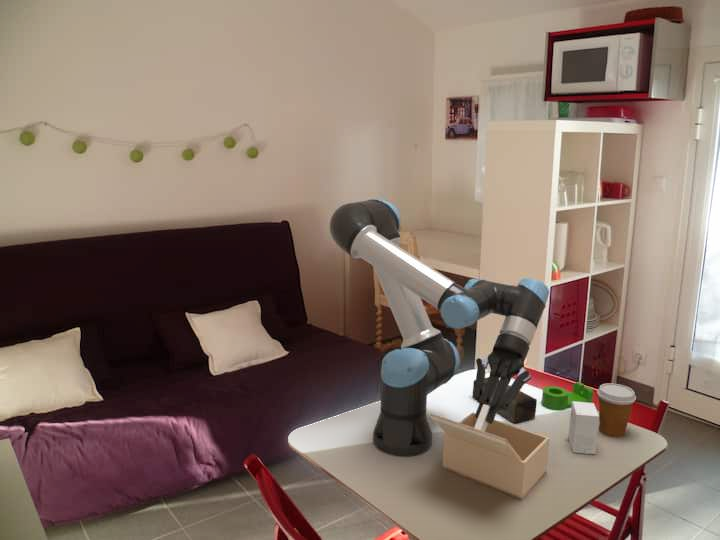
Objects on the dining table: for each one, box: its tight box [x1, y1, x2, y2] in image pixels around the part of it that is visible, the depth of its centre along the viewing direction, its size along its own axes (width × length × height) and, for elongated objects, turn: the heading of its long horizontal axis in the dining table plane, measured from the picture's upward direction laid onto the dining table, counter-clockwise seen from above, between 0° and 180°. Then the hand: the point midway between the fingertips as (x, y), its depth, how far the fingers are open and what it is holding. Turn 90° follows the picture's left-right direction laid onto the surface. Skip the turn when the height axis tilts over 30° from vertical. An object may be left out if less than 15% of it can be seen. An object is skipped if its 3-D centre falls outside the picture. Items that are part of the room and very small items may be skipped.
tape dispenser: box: [541, 381, 594, 412], centre depth 178 cm, size 15×7×5 cm, turn 114°
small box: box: [568, 401, 600, 455], centre depth 153 cm, size 8×6×10 cm
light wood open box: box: [441, 412, 550, 501], centre depth 142 cm, size 20×14×9 cm
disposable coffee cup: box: [596, 382, 637, 438], centre depth 161 cm, size 10×10×12 cm
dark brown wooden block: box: [472, 376, 538, 424], centre depth 174 cm, size 8×19×7 cm, turn 28°
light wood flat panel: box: [428, 412, 521, 461], centre depth 131 cm, size 18×1×12 cm
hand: (477, 434), depth 131 cm, fingers closed
